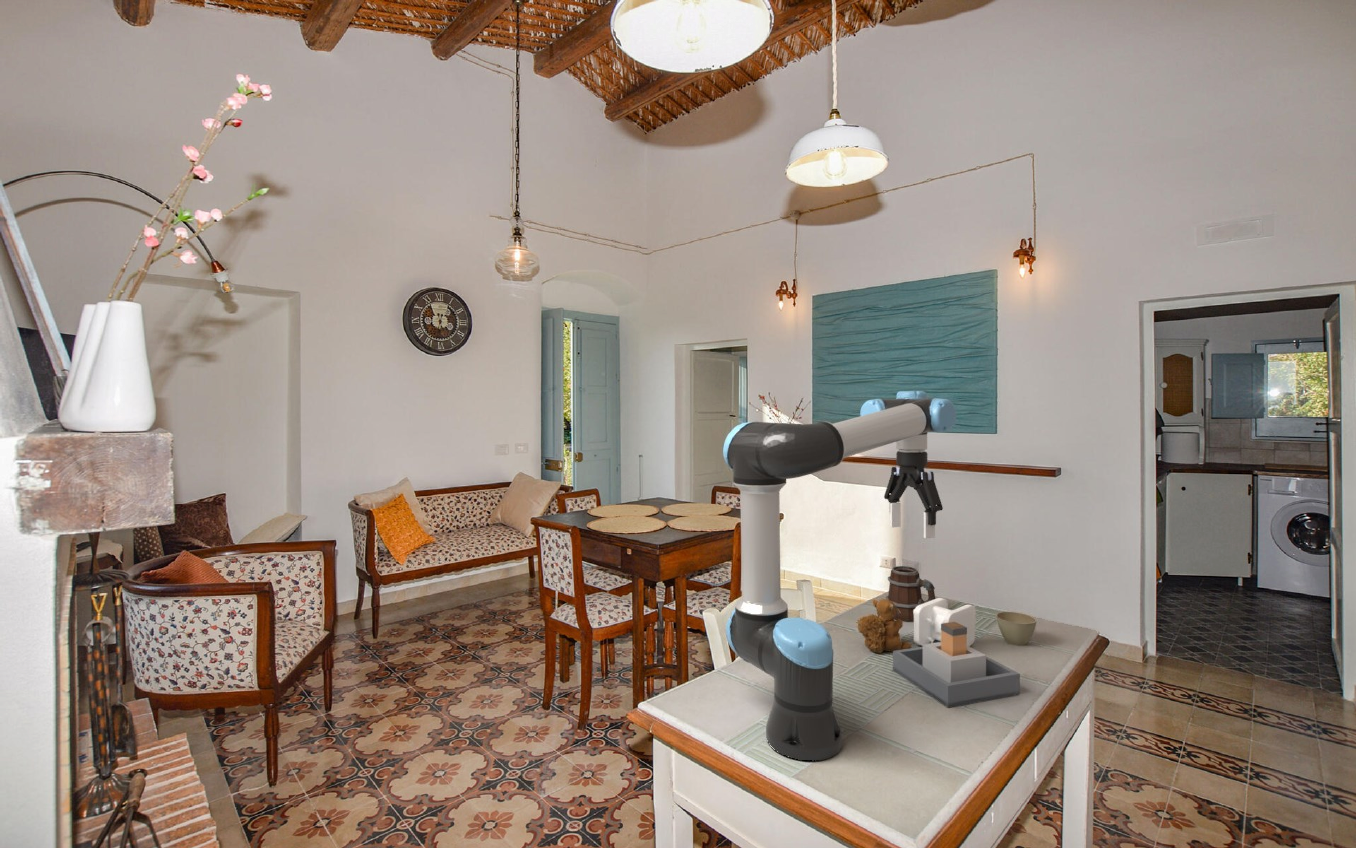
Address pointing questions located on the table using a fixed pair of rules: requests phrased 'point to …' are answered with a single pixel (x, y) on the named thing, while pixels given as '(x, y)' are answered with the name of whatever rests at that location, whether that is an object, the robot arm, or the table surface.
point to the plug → (953, 638)
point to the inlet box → (956, 675)
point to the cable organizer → (941, 620)
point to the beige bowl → (1016, 627)
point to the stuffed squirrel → (882, 628)
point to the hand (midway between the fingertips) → (911, 532)
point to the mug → (907, 591)
